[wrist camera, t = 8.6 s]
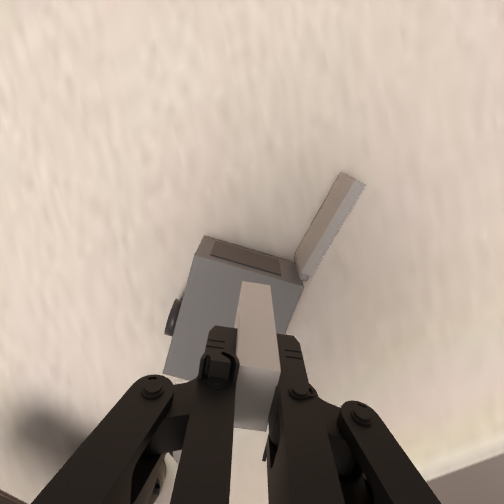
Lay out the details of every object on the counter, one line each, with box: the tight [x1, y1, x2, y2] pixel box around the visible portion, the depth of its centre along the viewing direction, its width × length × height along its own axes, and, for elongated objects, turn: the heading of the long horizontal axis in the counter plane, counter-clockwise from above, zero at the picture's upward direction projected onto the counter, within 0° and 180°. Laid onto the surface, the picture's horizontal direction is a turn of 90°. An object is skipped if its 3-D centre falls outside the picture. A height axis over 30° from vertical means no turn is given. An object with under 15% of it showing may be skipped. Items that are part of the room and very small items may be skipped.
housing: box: [163, 236, 304, 381], centre depth 39 cm, size 16×13×7 cm
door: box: [294, 173, 366, 281], centre depth 35 cm, size 2×12×6 cm, turn 154°
